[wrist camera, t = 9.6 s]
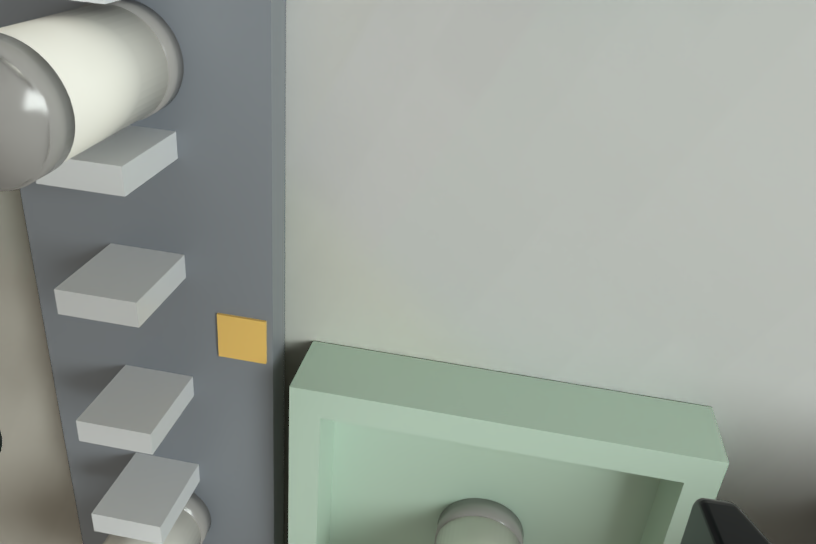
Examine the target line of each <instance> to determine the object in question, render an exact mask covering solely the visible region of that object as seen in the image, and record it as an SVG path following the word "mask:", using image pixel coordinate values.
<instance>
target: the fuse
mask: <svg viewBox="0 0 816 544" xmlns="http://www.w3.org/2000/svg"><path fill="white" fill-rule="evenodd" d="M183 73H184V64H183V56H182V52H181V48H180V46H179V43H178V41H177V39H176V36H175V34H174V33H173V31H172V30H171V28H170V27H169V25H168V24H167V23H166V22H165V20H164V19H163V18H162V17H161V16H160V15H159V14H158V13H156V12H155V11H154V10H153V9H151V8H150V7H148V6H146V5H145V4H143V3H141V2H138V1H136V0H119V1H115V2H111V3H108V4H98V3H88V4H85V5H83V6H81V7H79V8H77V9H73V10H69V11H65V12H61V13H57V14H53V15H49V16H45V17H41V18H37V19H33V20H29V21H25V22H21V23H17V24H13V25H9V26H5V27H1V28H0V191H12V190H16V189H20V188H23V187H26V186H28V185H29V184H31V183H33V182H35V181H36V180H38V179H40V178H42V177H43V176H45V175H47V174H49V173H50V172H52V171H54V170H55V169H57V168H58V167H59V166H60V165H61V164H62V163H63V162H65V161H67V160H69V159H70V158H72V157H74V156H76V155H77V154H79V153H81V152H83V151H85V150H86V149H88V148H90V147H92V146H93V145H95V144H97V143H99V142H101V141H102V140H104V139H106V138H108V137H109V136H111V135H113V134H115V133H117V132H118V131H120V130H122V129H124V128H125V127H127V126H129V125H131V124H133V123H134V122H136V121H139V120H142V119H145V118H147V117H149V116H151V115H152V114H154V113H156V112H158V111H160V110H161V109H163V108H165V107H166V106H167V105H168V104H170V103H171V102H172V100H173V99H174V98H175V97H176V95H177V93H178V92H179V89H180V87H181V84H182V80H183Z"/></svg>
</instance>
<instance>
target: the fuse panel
mask: <svg viewBox="0 0 816 544" xmlns="http://www.w3.org/2000/svg"><path fill="white" fill-rule="evenodd" d="M115 1H119V0H0V28H1V27H5V26H9V25H13V24H17V23H21V22H25V21H29V20H33V19H37V18H41V17H45V16H49V15H53V14H57V13H61V12H65V11H69V10H73V9H77V8H79V7H81V6H83V5H85V4H88V3H98V4H108V3H111V2H115ZM136 1H138V2H141V3H143V4H145V5H146V6H148V7H150V8H151V9H153V10H154V11H155V12H156V13H158V14H159V15H160V16H161V17H162V18H163V19H164V20H165V22H166V23H167V24H168V25H169V27H170V28H171V30H172V31H173V33H174V34H175V36H176V39H177V41H178V43H179V46H180V48H181V52H182V56H183V64H184V73H183V80H182V84H181V87H180V89H179V92H178V93H177V95H176V97H175V98H174V99H173V100H172V102H171V103H170V104H168V105H167V106H166V107H165V108H163V109H161V110H160V111H158V112H156V113H154V114H152V115H151V116H149V117H147V118H145V119H142V120H139V121H136V122H134V123H133V124H131V125H129V126H127V127H125V128H124V129H122V130H120V131H118V132H117V133H115V134H113V135H111V136H109V137H108V138H106V139H104V140H102V141H101V142H99V143H97V144H95V145H93V146H92V147H90V148H88V149H86V150H85V151H83V152H81V153H79V154H77V155H76V156H74V157H72V158H70V159H69V160H67V161H65V162H63V163H62V164H61V165H60V166H59V167H58V168H57V169H55V170H54V171H52V172H50V173H49V174H47V175H45V176H43V177H42V178H40V179H38V180H36V181H35V182H33V183H31V184H29V185H28V186H26V187H23V188H20V193H21V198H22V204H23V209H24V215H25V221H26V226H27V232H28V237H29V243H30V249H31V254H32V260H33V265H34V271H35V277H36V282H37V288H38V293H39V299H40V305H41V310H42V316H43V321H44V327H45V333H46V338H47V344H48V349H49V355H50V361H51V366H52V372H53V377H54V383H55V389H56V394H57V400H58V405H59V411H60V417H61V422H62V428H63V434H64V439H65V445H66V450H67V456H68V462H69V467H70V473H71V478H72V484H73V490H74V495H75V501H76V506H77V512H78V518H79V523H80V529H81V534H82V540H83V544H103V542H104V541H105V540H106V538H107V537H108V535H109V534H112V535H117V536H122V537H127V538H132V539H137V540H142V541H147V542H152V543H157V544H163V542H164V541H165V539H166V537H167V536H168V534H169V532H170V531H171V529H172V527H173V525H174V524H175V522H176V520H177V519H178V517H179V515H180V514H181V512H182V510H183V509H184V507H185V505H186V503H187V502H188V500H189V498H190V497H191V495H192V493H195V494H196V495H197V496H198V497H199V498H200V499H201V500H202V501H203V502H204V503H205V505H206V506H207V508H208V510H209V512H210V515H211V527H210V529H209V532H208V533H207V535H206V537H205V539H204V541H203V543H202V544H284V338H285V73H286V0H136Z"/></svg>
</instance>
